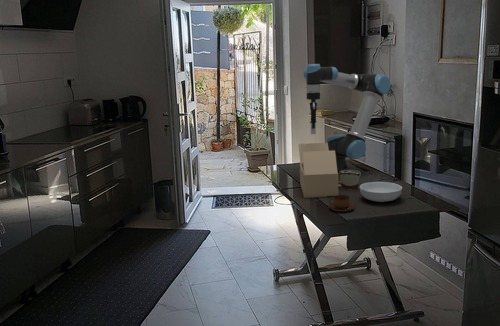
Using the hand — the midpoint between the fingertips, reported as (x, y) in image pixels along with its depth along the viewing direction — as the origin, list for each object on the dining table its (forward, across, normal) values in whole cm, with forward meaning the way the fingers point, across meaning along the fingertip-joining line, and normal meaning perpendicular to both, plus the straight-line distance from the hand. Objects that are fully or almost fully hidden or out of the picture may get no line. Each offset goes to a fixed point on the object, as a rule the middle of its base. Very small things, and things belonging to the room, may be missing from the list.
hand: (313, 133), depth 273 cm
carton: (+29, +13, +2) cm, 32 cm away
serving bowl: (+29, +34, +32) cm, 55 cm away
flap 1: (+12, -6, +1) cm, 13 cm away
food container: (+29, +12, +20) cm, 37 cm away
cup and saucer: (+30, +47, +11) cm, 57 cm away
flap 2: (+12, +23, +2) cm, 26 cm away
